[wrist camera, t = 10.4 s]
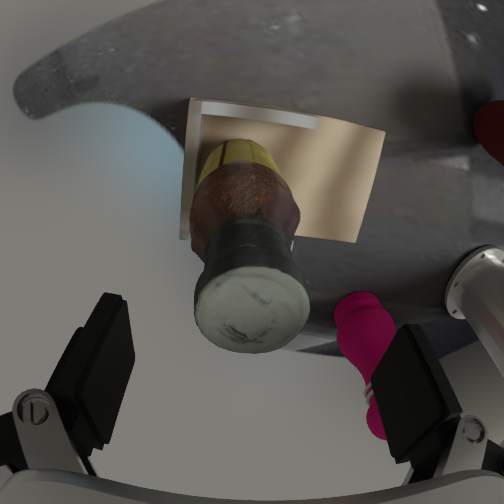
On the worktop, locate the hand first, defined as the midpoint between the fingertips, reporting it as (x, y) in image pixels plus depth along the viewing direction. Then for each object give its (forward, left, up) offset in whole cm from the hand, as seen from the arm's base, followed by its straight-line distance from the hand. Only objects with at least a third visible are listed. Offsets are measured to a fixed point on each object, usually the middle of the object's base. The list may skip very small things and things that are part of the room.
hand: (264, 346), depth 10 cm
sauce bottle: (+1, 0, -21) cm, 21 cm away
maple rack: (-3, 0, -22) cm, 22 cm away
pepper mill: (-16, +16, -22) cm, 31 cm away
